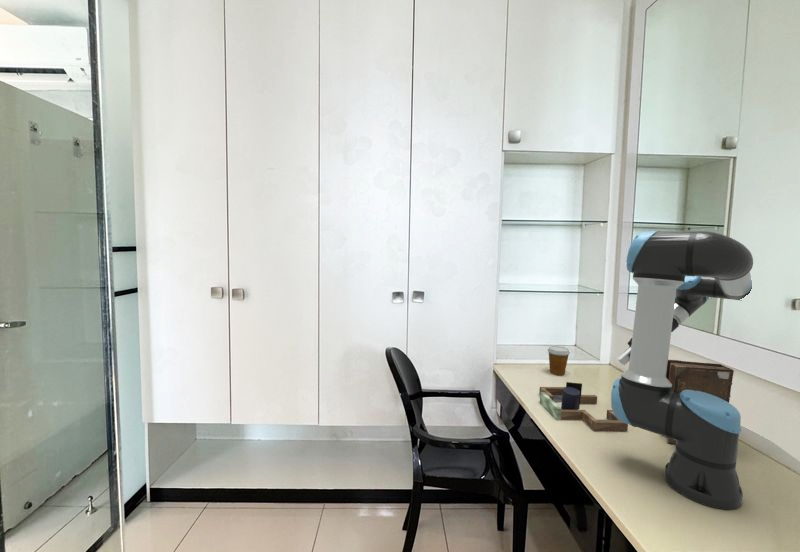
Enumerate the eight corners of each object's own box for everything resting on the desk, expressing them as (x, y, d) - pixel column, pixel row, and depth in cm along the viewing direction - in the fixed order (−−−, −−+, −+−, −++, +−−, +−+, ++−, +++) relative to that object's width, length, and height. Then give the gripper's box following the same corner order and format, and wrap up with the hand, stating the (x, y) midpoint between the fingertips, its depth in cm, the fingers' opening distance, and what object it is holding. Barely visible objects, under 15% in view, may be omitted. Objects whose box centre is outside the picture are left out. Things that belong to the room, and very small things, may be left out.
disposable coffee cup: (549, 368, 178) (550, 344, 177) (570, 373, 173) (571, 348, 171) (543, 374, 170) (545, 349, 169) (565, 378, 165) (567, 353, 164)
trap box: (631, 431, 119) (632, 419, 119) (567, 431, 118) (568, 419, 118) (584, 394, 148) (584, 384, 148) (531, 394, 147) (532, 384, 147)
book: (717, 440, 115) (726, 363, 112) (731, 453, 108) (741, 371, 105) (657, 432, 119) (664, 358, 117) (667, 444, 112) (674, 365, 110)
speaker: (562, 404, 138) (565, 378, 136) (579, 408, 135) (582, 383, 133) (558, 413, 132) (561, 387, 130) (576, 418, 129) (579, 392, 127)
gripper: (691, 329, 126) (639, 375, 126) (662, 321, 139) (615, 363, 139) (677, 314, 125) (626, 360, 125) (650, 307, 138) (603, 349, 138)
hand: (620, 362), depth 132 cm, fingers closed
